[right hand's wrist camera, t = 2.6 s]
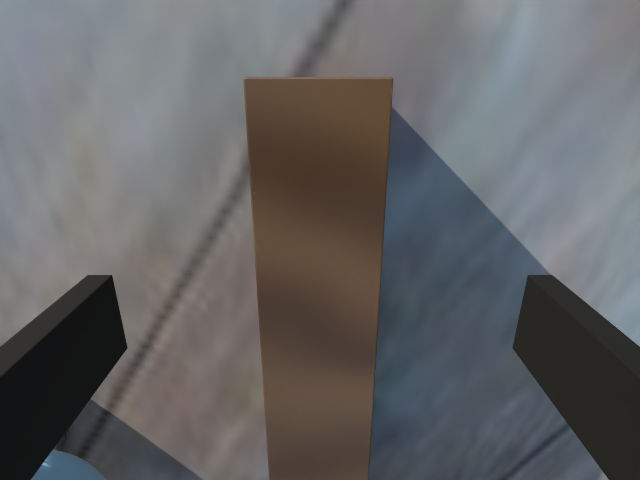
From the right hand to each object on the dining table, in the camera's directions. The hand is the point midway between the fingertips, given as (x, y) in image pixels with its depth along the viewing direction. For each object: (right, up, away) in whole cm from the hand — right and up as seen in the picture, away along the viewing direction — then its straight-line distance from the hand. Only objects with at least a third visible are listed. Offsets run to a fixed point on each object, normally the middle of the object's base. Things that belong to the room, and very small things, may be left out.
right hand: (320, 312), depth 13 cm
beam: (0, -21, +23) cm, 32 cm away
